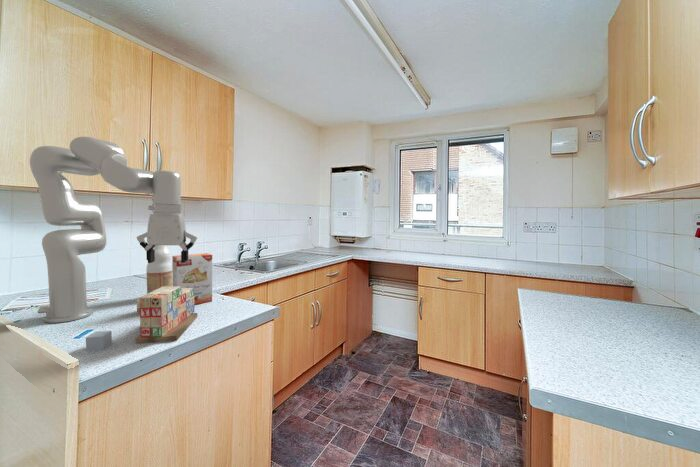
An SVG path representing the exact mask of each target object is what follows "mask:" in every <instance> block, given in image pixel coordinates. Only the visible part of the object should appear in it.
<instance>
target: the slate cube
mask: <svg viewBox="0 0 700 467" xmlns="http://www.w3.org/2000/svg"><path fill="white" fill-rule="evenodd" d="M112 335H113V334H112V330H104V331H103V330H102V331H101V330H99V331H94V332H92V333H91V334H89V335H88V336H86V337H85V351H86V352H96V351H98V352H99V351H104V350H106V349H107V348H108V347H109V346H111V345H112V344H113V340H112Z"/></svg>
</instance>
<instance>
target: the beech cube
mask: <svg viewBox="0 0 700 467" xmlns="http://www.w3.org/2000/svg"><path fill="white" fill-rule="evenodd" d="M139 308H140V301H139V298H137V301H136V316H138V317H139V316H140V310H139Z"/></svg>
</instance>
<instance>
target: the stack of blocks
mask: <svg viewBox="0 0 700 467" xmlns="http://www.w3.org/2000/svg"><path fill="white" fill-rule="evenodd" d="M138 299H139V301H140V308H139V310H140V315H139V324H140V327H139V330H140V331H139V332H140V334H139V335H140V336H141V337H162V336H164V335H165V334H166V333H167V332H169V331H171V330H172V329H173V328H174V327H176V326H177V325H178V324H179V323H180V322H182V321H183V320H184V319H186V318H187V317H188V316H190V315H191V314H192V313H195V305H194V288H181V286H173V285H172V287H161V288H159V289H156V290H154V291H153V292H150V293H148V294H147V293H146V294H143V295H141V296H140V297H139V298H138Z"/></svg>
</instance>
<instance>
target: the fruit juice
mask: <svg viewBox="0 0 700 467" xmlns="http://www.w3.org/2000/svg"><path fill="white" fill-rule="evenodd" d="M153 250H155V261H154V262H152V263H148V262H147V264H146V294H148V293H150V292H153V291H154V290H156V289H159V288H161V287H173V277H172V262H171V258H172V253H171V251H170V249H169V248H168V245H155V247H154V248H153Z"/></svg>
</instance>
